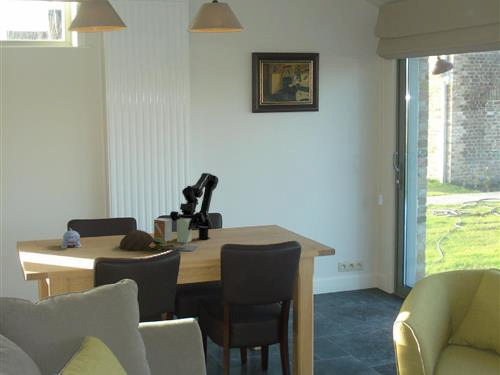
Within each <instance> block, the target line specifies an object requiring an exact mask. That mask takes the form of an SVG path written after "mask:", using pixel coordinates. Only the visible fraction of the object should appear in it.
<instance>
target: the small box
mask: <svg viewBox="0 0 500 375" xmlns="http://www.w3.org/2000/svg"><path fill="white" fill-rule="evenodd" d="M153 220H154V221H153V239H154V238H164V239H165V240H166V241H167V240H172V239H173V238H172V236H173V234H172V231H173V230H172V229H173V228H172V227H173V226H172V224H173V223H172V222H173V220H172V218H162V217H159V218H156V219H153ZM172 241H173V240H172Z"/></svg>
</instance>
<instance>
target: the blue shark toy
mask: <svg viewBox="0 0 500 375" xmlns="http://www.w3.org/2000/svg"><path fill="white" fill-rule="evenodd" d="M62 238H63V240H62V243H61V245H60V246H61V249H66V248H68V247H69V245H73V246H74V247H75V248H82V243H81V242H80V239H81V235H80V234H79V232H78V231H76V230H73V229H72V228H71V227H69V230H68V231H66V232H65V233H64V234H63V236H62Z"/></svg>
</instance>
